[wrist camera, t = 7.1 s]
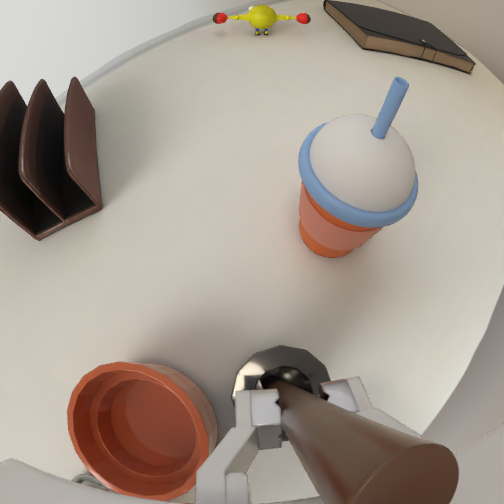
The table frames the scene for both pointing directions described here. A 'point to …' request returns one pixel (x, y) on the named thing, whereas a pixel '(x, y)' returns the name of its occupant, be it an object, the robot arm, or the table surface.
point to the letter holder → (47, 159)
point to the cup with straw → (355, 178)
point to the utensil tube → (282, 371)
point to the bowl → (141, 428)
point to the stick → (362, 454)
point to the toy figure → (261, 17)
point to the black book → (397, 34)
